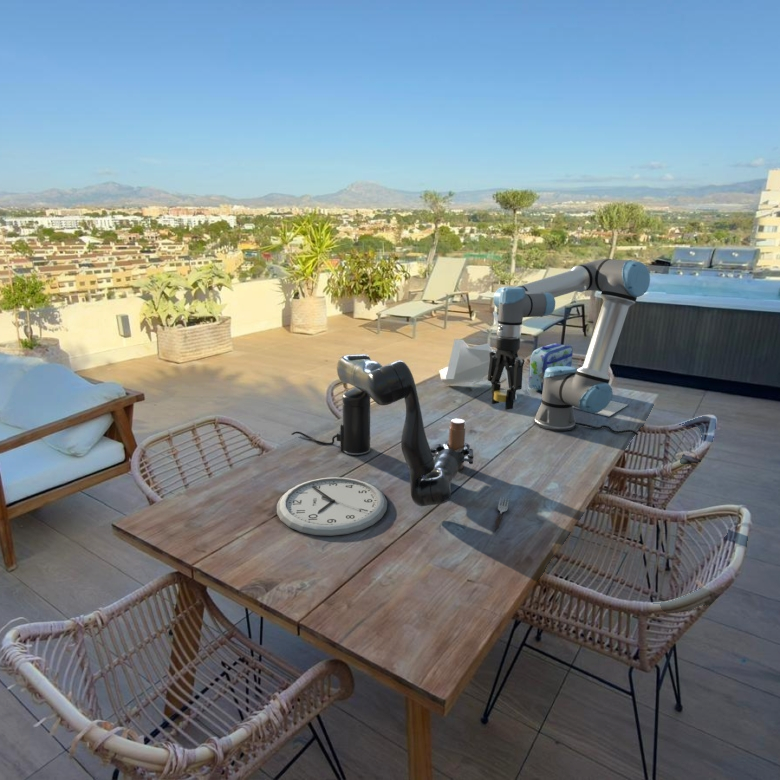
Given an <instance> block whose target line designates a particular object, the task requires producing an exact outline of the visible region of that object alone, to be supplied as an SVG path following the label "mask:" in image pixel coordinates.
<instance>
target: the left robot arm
mask: <svg viewBox="0 0 780 780" xmlns="http://www.w3.org/2000/svg"><path fill="white" fill-rule="evenodd" d="M336 373H337V374H336V375H337V376H338V379H339V381H340V382H341V383H343V384H346V385H351V386H353V387H352V388H351V389H350V390H346V391H345V392H344V393H343V394H342V397H341V398H342V399H341V400H342V402H341V403H342V423H341V424H340V429H339V430H340V431H338V432H337V433H336V434H335V435H333V436H332V438H331V442H325V441H321V440H318V439H315V438H314V437H312V436H311V435H307V434H305V433H303V432H302V431H293V432H291V435H292V436H293V435H295V434H296V435H297V434H299V435H302V436H304V437H305V438H308V439H310V440H311V441H312V442H315V443H318V444H321V445H329V446H330V445H334V443H335V439H336V442H340V452H342V453H345V454H346V455H350V456H364V455H367V454H368V453H370V452H371V399H372V401H373V402H375V403H376V404H377V405H378V406H388V405H391V404H393V403H397V401H400V400H402V399H403V400H404V402H405V418H404V424H403V428H402V432H401V437H400V438H401V439H400V444H401V445H400V446H401V451H402V454H403V458H404V460H405V463H406V466H407V469H408V473H409V481H410V483H409V485H410V497H411V500H412V501H413V503H414V504H415V505H417V506H419V507H429V506H437V505H442V504H445V503H447V502H448V501H449V500H450V499H451V498H452V497H451V495H452V490H451V483H452V481H453V480H454V478H455V477H456V476H457V474H458V472H459V470H460V469H459V468H460V466H461V463H463V464H464V463H465V462H467V463H468V464H469V465H473V464H474V449H473V448H470V444H469V443H468V442H465V443H464V447H463V448H459V449H457V450H452V449H449V440H448V441H445V443H444V444H441V443H437V444H435V445H434V446H433V447H430V444H429V441H428V437H427V434H426V431H425V425H424V421H423V415H422V411H421V410H422V409H421V404H420V401H419V399H420V398H419V395H418V391H417V386H416V382H415V378H414V376H413V372H412V371H411V369H410V367H409V366H408V364H407V363H406V362H404V361H403V360H396V361H393V362H390V363H388V364H386V365H384V366H383V365H382V364H381V363H379V362H378V361H376V360H372V359H371V357H370V355H368V354H347V355H342V356H341V357H340V358H339V359H338V361H337V363H336ZM424 476H425V478H423V477H424Z"/></svg>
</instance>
